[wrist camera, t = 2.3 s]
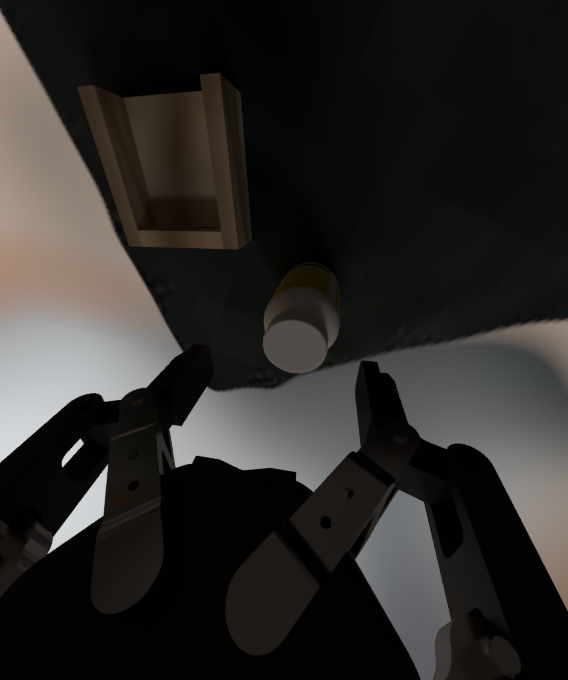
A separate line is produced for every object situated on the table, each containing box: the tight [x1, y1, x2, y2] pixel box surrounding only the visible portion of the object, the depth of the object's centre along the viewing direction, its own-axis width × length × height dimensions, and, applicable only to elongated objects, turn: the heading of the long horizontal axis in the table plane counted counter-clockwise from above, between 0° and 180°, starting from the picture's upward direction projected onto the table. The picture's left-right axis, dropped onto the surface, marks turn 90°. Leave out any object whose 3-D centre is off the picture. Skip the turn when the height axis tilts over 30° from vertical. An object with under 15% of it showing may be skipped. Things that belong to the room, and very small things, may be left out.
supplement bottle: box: [263, 262, 340, 373], centre depth 19 cm, size 5×5×10 cm
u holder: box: [77, 73, 252, 249], centre depth 18 cm, size 9×9×4 cm
